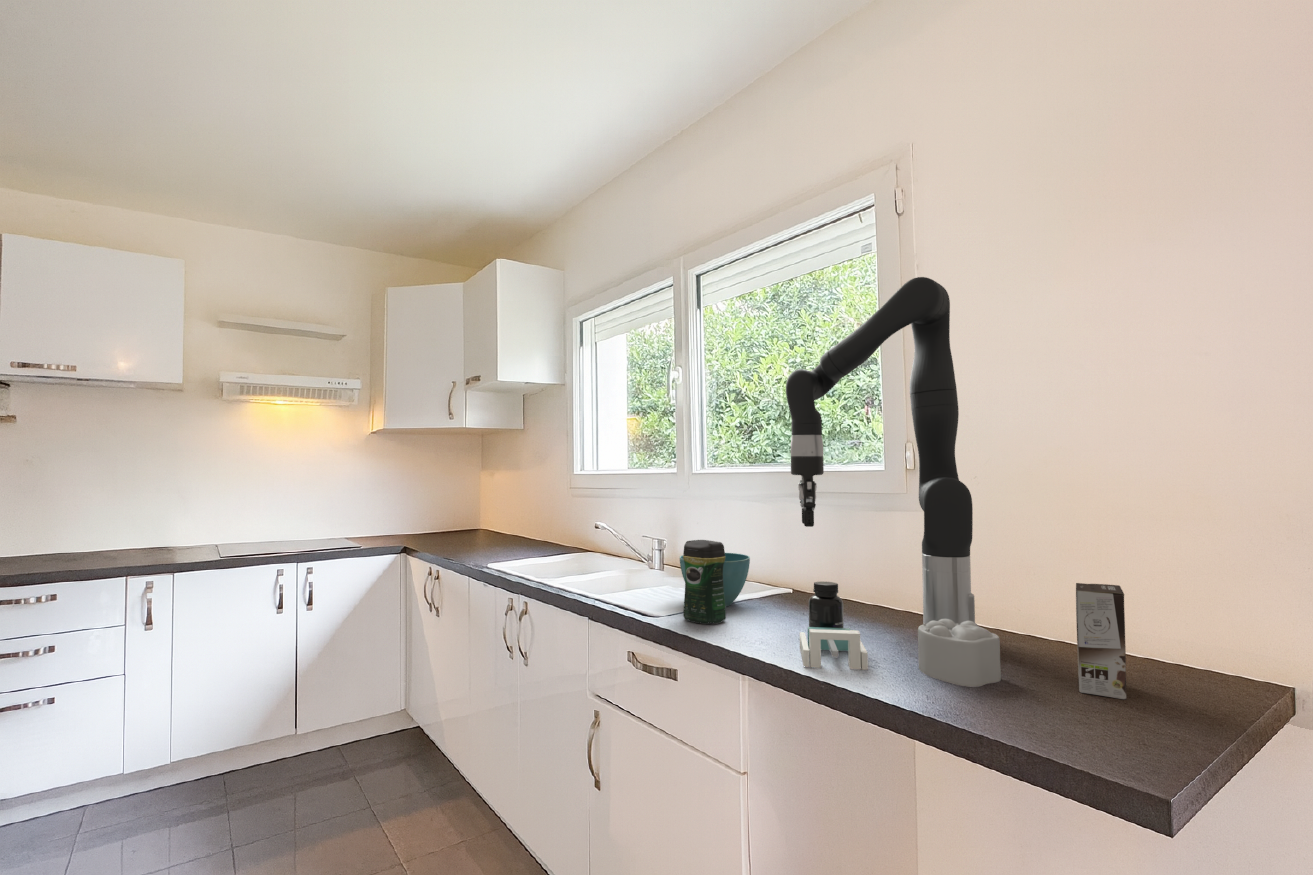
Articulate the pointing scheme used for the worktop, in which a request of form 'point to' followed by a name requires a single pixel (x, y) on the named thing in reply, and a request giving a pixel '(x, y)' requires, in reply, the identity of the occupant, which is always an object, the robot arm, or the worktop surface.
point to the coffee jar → (704, 581)
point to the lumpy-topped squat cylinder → (959, 653)
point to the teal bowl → (730, 575)
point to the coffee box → (1101, 640)
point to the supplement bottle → (825, 606)
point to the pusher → (832, 642)
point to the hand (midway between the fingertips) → (807, 524)
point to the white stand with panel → (855, 646)
